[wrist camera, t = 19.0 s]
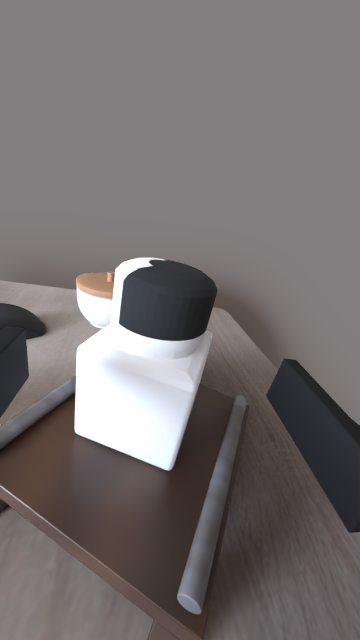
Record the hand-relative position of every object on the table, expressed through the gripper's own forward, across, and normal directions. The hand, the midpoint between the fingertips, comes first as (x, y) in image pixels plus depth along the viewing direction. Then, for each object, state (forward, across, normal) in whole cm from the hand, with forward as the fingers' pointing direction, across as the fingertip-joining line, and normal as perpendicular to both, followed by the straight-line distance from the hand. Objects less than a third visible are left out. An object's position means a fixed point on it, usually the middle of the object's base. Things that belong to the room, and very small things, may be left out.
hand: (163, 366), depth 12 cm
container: (+5, 0, -9) cm, 10 cm away
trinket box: (+31, -7, -14) cm, 34 cm away
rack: (+4, 0, -14) cm, 14 cm away
